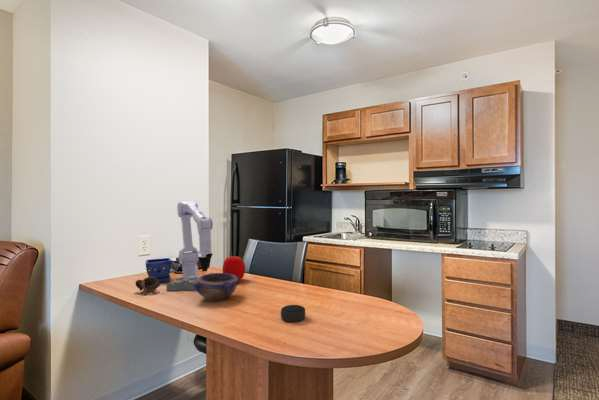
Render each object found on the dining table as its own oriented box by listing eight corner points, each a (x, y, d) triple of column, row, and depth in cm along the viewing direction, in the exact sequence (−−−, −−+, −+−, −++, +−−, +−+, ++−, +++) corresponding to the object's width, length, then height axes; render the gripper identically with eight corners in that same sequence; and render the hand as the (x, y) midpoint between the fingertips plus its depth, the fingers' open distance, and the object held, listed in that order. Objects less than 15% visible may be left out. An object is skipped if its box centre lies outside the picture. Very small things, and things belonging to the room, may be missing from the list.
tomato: (218, 282, 183) (217, 256, 183) (228, 278, 194) (228, 253, 194) (239, 283, 179) (238, 256, 179) (249, 278, 190) (248, 253, 190)
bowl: (228, 305, 143) (227, 281, 143) (189, 303, 146) (188, 280, 146) (244, 293, 160) (243, 272, 160) (208, 292, 164) (208, 271, 164)
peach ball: (177, 284, 175) (177, 275, 175) (185, 284, 175) (185, 275, 175) (173, 286, 171) (173, 277, 171) (182, 286, 170) (182, 277, 170)
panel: (173, 286, 177) (173, 280, 177) (219, 286, 176) (218, 280, 176) (166, 290, 169) (166, 284, 169) (214, 290, 168) (214, 284, 168)
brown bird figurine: (162, 289, 174) (163, 277, 170) (154, 302, 165) (154, 290, 162) (139, 284, 173) (139, 271, 170) (129, 297, 165) (129, 284, 161)
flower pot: (145, 280, 194) (145, 259, 194) (170, 277, 200) (170, 257, 200) (146, 285, 182) (145, 262, 182) (172, 282, 188) (172, 260, 188)
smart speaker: (291, 313, 131) (291, 302, 131) (310, 317, 125) (310, 306, 125) (276, 320, 124) (275, 308, 124) (294, 325, 118) (294, 313, 118)
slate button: (190, 284, 175) (190, 275, 175) (199, 284, 174) (198, 275, 174) (187, 286, 170) (187, 277, 170) (196, 286, 170) (195, 277, 170)
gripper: (199, 241, 178) (200, 267, 178) (194, 244, 164) (195, 272, 164) (213, 240, 179) (213, 266, 179) (209, 244, 165) (210, 272, 165)
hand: (206, 269), depth 172 cm, fingers open, 7 cm apart
